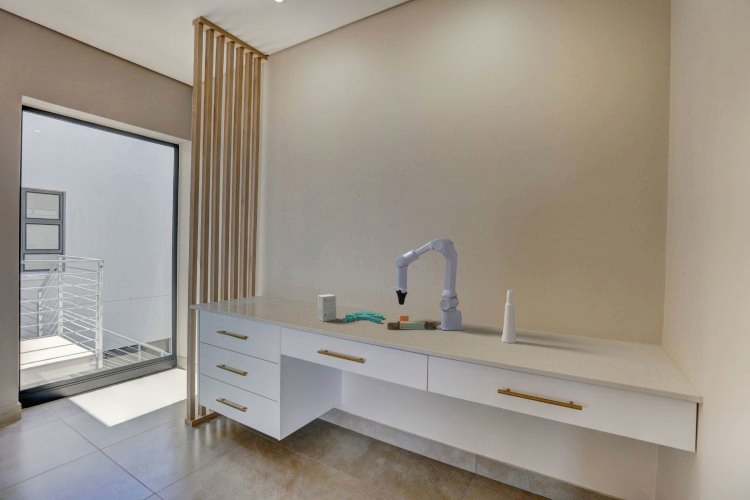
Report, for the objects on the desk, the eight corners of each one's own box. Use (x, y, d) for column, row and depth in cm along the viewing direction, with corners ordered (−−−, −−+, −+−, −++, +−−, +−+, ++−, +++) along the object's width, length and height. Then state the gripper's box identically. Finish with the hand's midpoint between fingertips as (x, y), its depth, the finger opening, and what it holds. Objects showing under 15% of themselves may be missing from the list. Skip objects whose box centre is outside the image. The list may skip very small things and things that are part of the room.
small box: (330, 317, 191) (330, 293, 190) (336, 319, 186) (336, 295, 185) (316, 319, 186) (317, 295, 185) (322, 321, 181) (322, 296, 180)
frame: (435, 327, 171) (436, 320, 171) (436, 329, 169) (437, 321, 169) (387, 328, 169) (387, 321, 169) (387, 329, 167) (387, 322, 167)
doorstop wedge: (407, 322, 182) (407, 314, 182) (409, 326, 174) (409, 317, 174) (398, 322, 181) (399, 314, 181) (401, 326, 173) (401, 317, 173)
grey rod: (424, 327, 170) (424, 322, 170) (425, 328, 169) (425, 323, 169) (400, 327, 169) (400, 322, 169) (400, 328, 168) (400, 323, 168)
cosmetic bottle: (513, 344, 146) (514, 291, 146) (499, 341, 150) (500, 290, 150) (518, 341, 151) (520, 290, 150) (504, 338, 155) (506, 288, 154)
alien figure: (381, 324, 179) (383, 315, 198) (381, 320, 178) (384, 311, 198) (342, 323, 181) (349, 314, 200) (342, 318, 180) (349, 310, 200)
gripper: (392, 277, 193) (392, 301, 194) (396, 280, 179) (395, 307, 179) (405, 277, 194) (404, 301, 194) (409, 280, 179) (409, 306, 180)
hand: (401, 304), depth 187 cm, fingers closed
